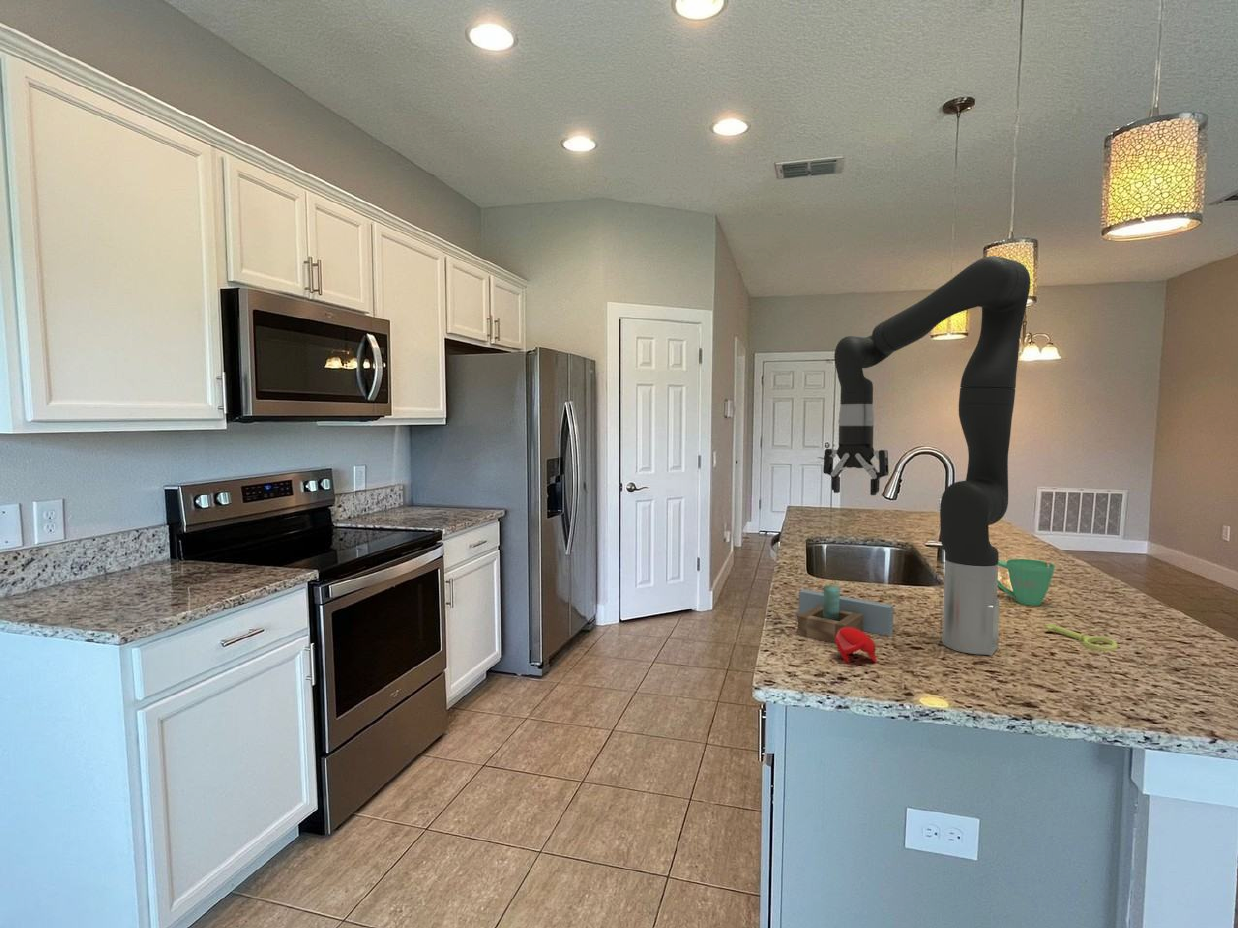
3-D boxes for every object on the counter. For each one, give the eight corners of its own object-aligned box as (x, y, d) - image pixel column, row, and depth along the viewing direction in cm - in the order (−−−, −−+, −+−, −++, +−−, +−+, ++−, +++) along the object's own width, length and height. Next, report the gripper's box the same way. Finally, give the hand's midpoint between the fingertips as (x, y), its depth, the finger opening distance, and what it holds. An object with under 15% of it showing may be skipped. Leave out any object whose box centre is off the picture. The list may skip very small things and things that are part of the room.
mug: (1059, 603, 152) (1060, 563, 152) (1044, 611, 146) (1046, 569, 146) (993, 591, 164) (995, 554, 163) (977, 597, 158) (979, 559, 157)
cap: (831, 646, 115) (861, 634, 112) (829, 626, 120) (858, 614, 117) (854, 677, 116) (884, 666, 113) (851, 656, 121) (880, 645, 119)
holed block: (862, 632, 132) (863, 614, 132) (844, 645, 124) (845, 625, 124) (817, 622, 138) (817, 605, 138) (797, 634, 131) (798, 615, 131)
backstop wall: (892, 633, 131) (893, 605, 131) (889, 636, 130) (889, 607, 129) (803, 614, 144) (803, 589, 144) (798, 617, 143) (799, 591, 142)
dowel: (841, 633, 131) (842, 586, 131) (835, 637, 129) (836, 590, 128) (826, 630, 134) (827, 584, 133) (820, 633, 131) (821, 587, 131)
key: (1046, 631, 133) (1047, 622, 133) (1119, 646, 125) (1120, 636, 124) (1038, 640, 128) (1039, 630, 128) (1114, 655, 119) (1115, 645, 119)
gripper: (893, 424, 142) (891, 494, 143) (832, 424, 151) (831, 490, 152) (882, 424, 136) (880, 497, 137) (819, 424, 145) (818, 493, 146)
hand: (854, 493), depth 144 cm, fingers open, 8 cm apart
